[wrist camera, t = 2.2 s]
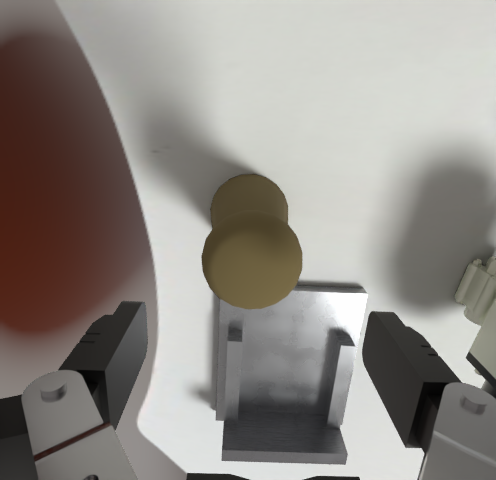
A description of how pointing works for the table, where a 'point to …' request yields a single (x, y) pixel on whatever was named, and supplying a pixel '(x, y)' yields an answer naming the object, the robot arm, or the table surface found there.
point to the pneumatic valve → (481, 318)
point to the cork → (251, 244)
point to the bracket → (288, 375)
